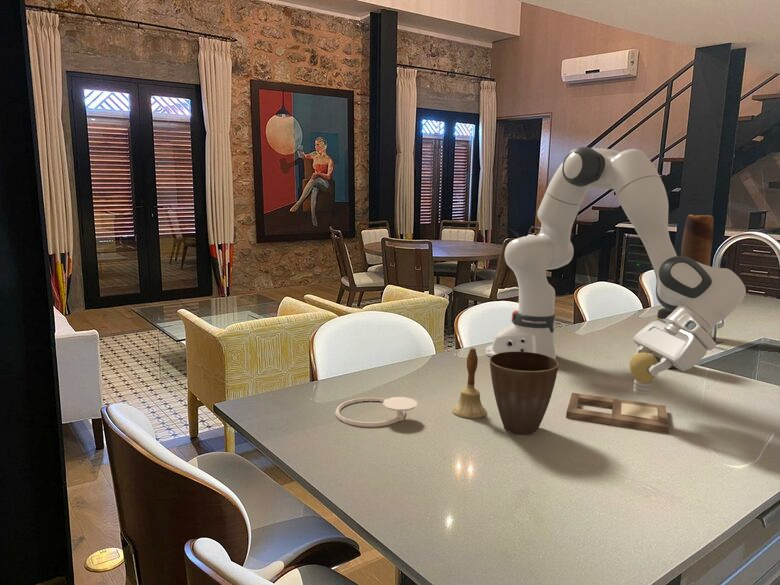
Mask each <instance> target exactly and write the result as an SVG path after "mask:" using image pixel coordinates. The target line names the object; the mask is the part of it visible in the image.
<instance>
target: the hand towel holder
mask: <svg viewBox="0 0 780 585" xmlns="http://www.w3.org/2000/svg"><path fill="white" fill-rule="evenodd" d="M363 401H369V402H372V401H380V402H379V403H382V405H383V406H384V407H385V408H386V409H388V410H391V411H395V412H396V416H395V418H391V419H388V420H382V421H374V422H373V421H372V422H371V421H365V422H364V421H357V420H352V419H349V418H346V417H344V416H343V415H341V410H342V409H343V408H345V407H347V406H349V405H353V404H356V403H357V402H358V403H364V402H363ZM358 403H357V404H358ZM417 406H418V401H416V400H415V399H414V398H410V397H406V396H394V397H393V396H392V397H389V398H383V397H382V398H381V397H361V398H354V399H350V400H347V401H344V402H342V403H340V404H339V405H338V406H337V407H336V410H335V411H334V413H335V416H336V417H337V419H338V420H339V421H341V422H342V423H344V424H347V425H350V426H353V427H354V426H355V427H359V428H360V427H362V428H379V427H385V426H386V425H387V426H390V424H391V425H393V423H394V424H396V422H397V423H399V422H403V421H405V416H406V413H407V411H411V410H413V409H415V408H417ZM402 420H403V421H402Z"/></svg>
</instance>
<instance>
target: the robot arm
mask: <svg viewBox="0 0 780 585" xmlns="http://www.w3.org/2000/svg"><path fill="white" fill-rule="evenodd" d="M590 189H591V190H611V191H614V193H615V194H616V198H617V200H618V202H619V204H620V206H621V208H622V210H623V211H624V214H625V215H626V217H627V219H628V220H629V221H630V224H631V225H632V226H633V228H634V230H635V232H636V233H637V235H638V237H639V238H640V240H641V242H642V244H643V247H644V250H645V251H646V254H647V256H648V259H649V261H650V264H651V266H652V269H653V271H654V274H655V277H656V278H655V279H656V286H655V296H656V299H657V302H658V303H659V304H660V305H661V306H662V307H663V308H667V309H669V310H672V311H673V312H672V313H671V314H670V315H669V316H668V317H667V318H666V319H662V320H657V319H656V320H653V321H650V322H649V323H648V324H647V325H644V327H643V328H642V329H640V330H639V331H638V332H637V333H635V335H634V336H633V338H632V341H633V342H634V344H636V346H638V348H637V349H636V352H635V353H634V355H635V354H637V353H649V354H651V355H654V356H656V357H658V358H660V359H661V360H660V361H661V362H659V363H657V364H656V365H654V366H653V365H651V366H650V367H649V368H648V369H647V371H648V372H649V374H651V375H652V376H655V377H656V376H657V375H658V374H659V373H661V372H664V371H666V370H668V369H671V368H670V367H671V366H672V365H673V366H675V367H676V368H675V369H678V370H680V371H682V372H686V371H687V370H690V369H692V368H693V367H694V366H696V365H697V364H698V363H699V362H700V361H701V360H702V359H703V358H704V357H705V356H706V355H707V353H708V351H712V350H714V349H715V348H716V347H717V343H716V342H715V341H714V340H713V338H712V337H711V336H710V335H709V334H710V333H711V332H712V331H713V330H714V329H715V326H716V325H717V324H718V323H719V322H722V321H723V320H725V319H727V317H728V316H730V315H731V314H732V313H733V312H734V310H736V309H737V307H738V306H740V304H741V303H742V302H743V300H744V299H745V296H746V293H747V291H746V290H747V289H746V285H745V283H744V281H743V280H742V278H741V277H740V276H739V275H738V274H737V273H736V272H734V271H733V270H732V269H729V268H727V267H726V268H725V267H724V268H723V267H713V266H711V265H710V266H707V265H704V264H701V263H699V262H696V261H695V260H693V259H692V258H689V257H686V256H681V255H677V252H676V250H675V248H674V245H673V243H672V241H671V238H670V233H669V231H670V230H669V198H668V194H667V191H666V187H665V185H664V183H663V181H662V178H661V176H660V175H659V173H658V171H657V169H656V167H655V165H654V164H653V162H652V161H651V160H650V159H649V157H648V156H647V155H646V153H644V151H642V150H640V149H638V148H637V149H636V148H629V149H625V150H623V151H621V150H619V151H618V150H614V149H609V148H605V147H604V148H600V147H599V148H597V147H589V146H583V147H581V146H580V147H576V148H573V149H571V150H570V151H568V153H567V154H566V156H565V157H564V160H563V162H562V163H561V164H560V165H559V166H558V168H557V169H556V171H555V172H554V174H553V176H552V178H551V179H550V182H549V184H548V186H547V188H546V190H545V193H544V196H543V198H542V199H541V203H540V205H539V208H538V210H537V214H536V216H537V219H538V220H539V222H540V223H541V224H540V230H539V233H538V234H537V235H526V236H525V235H524V236H521V237H518V238H515V239H513V240H511V241H509V243H507V245H506V246H505V250H504V261H505V263H506V265H507V266H508V268H510V269H511V270H512V272H513V273H514V275H515V277H516V281H517V284H518V285H517V286H518V310H517V309H514V311H512V312H511V313H512V314H511V323H509V324H507V325H506V326H504V327H503V328H501V329H500V330H498V331H497V332H496V333H495V335H494V337H493V341H492V344H489V345H488V346H487V347H486V348H485V351H484V353H485V355H486V356H488V357H491V356H493V355H495V354H498V353H502V352H531V353H538V354H542V355H546V356H549V357H552V358H554V359H555V360H557V359H556V358H557V355H556V350H555V343H554V342H555V339H554V331H555V328H556V314H555V300H556V290H555V287H553V286H552V285H551V284H550V283H549V281H548V278H547V273H546V271H549V270H556V269H560V268H562V267H565V266H567V265H568V264H570V262H571V261H572V260H573V257H574V245H573V243H572V241H571V236H572V235H571V233H572V229H573V226H574V222H575V220H576V218H577V216H578V213H579V211H580V209H581V206H582V205H583V202H584V200H585V198H586V195H587V193H588V192H589V190H590Z"/></svg>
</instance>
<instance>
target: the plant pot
mask: <svg viewBox="0 0 780 585" xmlns="http://www.w3.org/2000/svg"><path fill="white" fill-rule="evenodd" d="M489 357H490V358H488V359H489V368H490V376H491V383H492V389H493V393H494V395H493V396H494V398H495V399H494V400H495V403H496V406H497V410H498V414H499V416H500V419H501V423H502V425H503V427H504V430H505V431H506V432H508V433H511V434H514V435H520V436H530V435H533V434H535V433H537V432H538V430H539V428H540V426H541V423H542V421H543V420H544V417H545V415H546V411H547V409H548V407H549V404H550V401H551V398H552V395H553V391H554V388H555V383H556V379H557V375H558V370H559V365H560V364H559V361H558V360H557V359H554V358H552V357H549V356H546V355H542V354H538V353H531V352H502V353H498V354H495V355H493V356H489Z"/></svg>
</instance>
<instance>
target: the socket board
mask: <svg viewBox="0 0 780 585" xmlns="http://www.w3.org/2000/svg"><path fill="white" fill-rule="evenodd" d="M580 404H583V405H589V406H596V407H603V408H609V409H610V408H611V413H608V412H603V411H598V410H597V411H596V410H588V409H581V408H578V407H579V405H580ZM565 418H566V419H573V420H579V421H586V422H593V423H600V424H604V425H605V424H606V425H613V426H618V427H625V428H630V429H631V428H632V429H638V430H646V431H651V432H658V433H663V434H669V429H670V426H669V425H670V424H669V418H668V412H667V406H666V405H665V404H664V405H663V404H657V403H649V402H640V401H635V400H627V399H619V398H612V397H608V396H607V397H606V396H598V395H591V394H584V393H577V392H571V395H570V398H569V403H568V405H567V409H566V417H565Z"/></svg>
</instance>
